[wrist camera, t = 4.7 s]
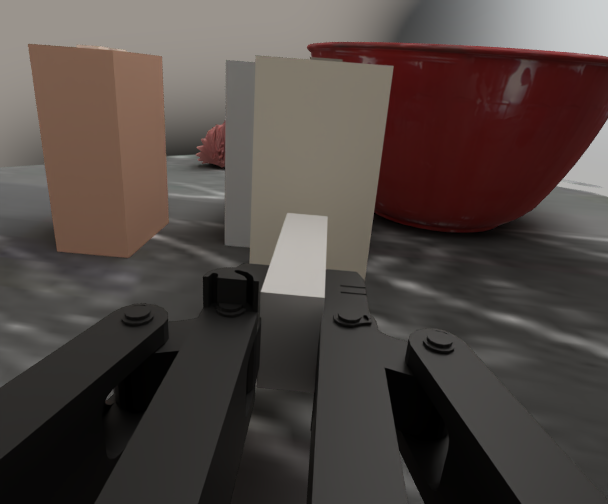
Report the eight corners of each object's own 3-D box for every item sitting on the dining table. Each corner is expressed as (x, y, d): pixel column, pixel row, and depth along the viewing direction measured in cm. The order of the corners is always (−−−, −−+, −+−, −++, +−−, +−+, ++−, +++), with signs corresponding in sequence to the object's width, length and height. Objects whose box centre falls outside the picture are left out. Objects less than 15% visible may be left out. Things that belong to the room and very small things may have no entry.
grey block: (244, 215, 42) (247, 61, 37) (297, 220, 41) (308, 65, 37) (224, 245, 34) (225, 56, 29) (290, 251, 34) (302, 62, 29)
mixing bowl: (561, 303, 29) (645, 39, 23) (238, 207, 44) (241, 32, 38) (597, 216, 51) (645, 69, 45) (373, 172, 66) (387, 57, 60)
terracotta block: (110, 217, 38) (95, 48, 33) (168, 222, 38) (161, 53, 33) (57, 251, 31) (27, 39, 26) (128, 258, 31) (112, 46, 26)
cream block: (269, 283, 28) (280, 58, 24) (348, 291, 28) (375, 65, 24) (246, 356, 21) (255, 49, 16) (353, 367, 21) (394, 59, 16)
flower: (263, 127, 58) (237, 98, 59) (211, 155, 55) (184, 124, 56) (258, 164, 65) (235, 137, 66) (212, 190, 62) (189, 162, 63)
